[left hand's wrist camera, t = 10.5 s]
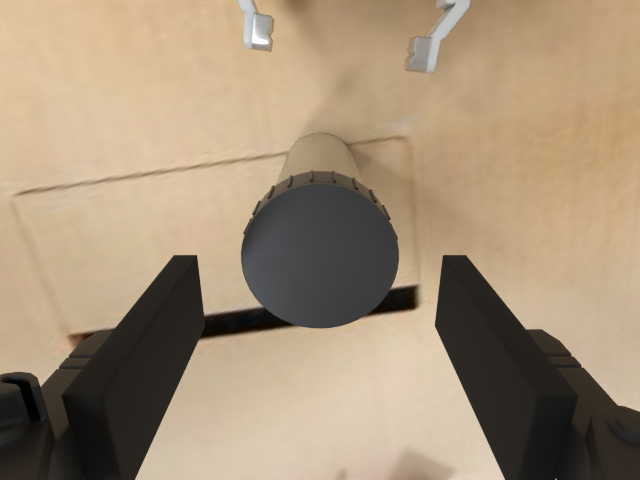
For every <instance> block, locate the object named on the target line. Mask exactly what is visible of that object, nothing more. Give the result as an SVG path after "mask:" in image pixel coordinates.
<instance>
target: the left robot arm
mask: <svg viewBox="0 0 640 480" xmlns="http://www.w3.org/2000/svg"><path fill="white" fill-rule="evenodd" d="M204 327H205V321H204V312H203V303H202V295H201V286H200V277H199V269H198V260H197V255H174V256H173V257H172V259H171V260H170V261H169V262H168V264H167V265H166V266H165V267H164V268H163V270H162V271H161V272H160V273H159V275H158V276H157V277H156V278H155V280H154V281H153V282H152V283H151V285H150V286H149V287H148V288H147V290H146V291H145V292H144V293H143V295H142V296H141V297H140V298H139V299H138V301H137V302H136V303H135V304H134V306H133V307H132V308H131V309H130V311H129V312H128V313H127V314H126V316H125V317H124V318H123V319H122V321H121V322H120V323H119V324H118V326H117V327H116V328H115V329H114V330H113V331H98V332H96V333H95V334H93V335H91V336H90V337H88V338H87V339H85V340H84V341H82V342H81V343H80V344H79V345H78V346H77V347H76V348H75V349H74V350H73V352H72V353H71V354H70V355H69V358H66V359H65V361H64V362H63V363H62V364H61V365H60V366H59V369H56V371H55V372H54V373H53V374H52V375H51V376H50V377H49V378H48V380H47V381H46V382H45V383H44V384H43V385H42V386H41V387H40V385H39V381H38V378H37V377H35V376H34V375H32V374H31V373H25V372H14V373H6V374H2V375H0V480H84V479H85V480H135V478H136V476H137V474H138V472H139V469H140V467H141V465H142V463H143V461H144V458H145V456H146V454H147V452H148V450H149V448H150V445H151V443H152V441H153V439H154V437H155V434H156V432H157V430H158V428H159V426H160V423H161V421H162V419H163V417H164V415H165V413H166V410H167V408H168V406H169V404H170V402H171V399H172V397H173V395H174V393H175V391H176V388H177V386H178V384H179V382H180V380H181V377H182V375H183V373H184V371H185V369H186V367H187V364H188V362H189V360H190V358H191V356H192V353H193V351H194V349H195V347H196V345H197V342H198V340H199V338H200V336H201V334H202V332H203V329H204ZM435 327H436V329H437V332H438V334H439V336H440V338H441V340H442V342H443V345H444V347H445V349H446V351H447V353H448V356H449V358H450V360H451V362H452V364H453V367H454V369H455V371H456V373H457V375H458V377H459V380H460V382H461V384H462V386H463V388H464V391H465V393H466V395H467V397H468V399H469V402H470V404H471V406H472V408H473V410H474V413H475V415H476V417H477V419H478V421H479V423H480V426H481V428H482V430H483V432H484V434H485V437H486V439H487V441H488V443H489V445H490V448H491V450H492V452H493V454H494V456H495V458H496V461H497V463H498V465H499V467H500V469H501V472H502V474H503V476H504V478H505V480H555V479H557V480H640V412H639V411H636V410H633V409H630V408H627V407H624V406H618V405H617V404H616V403H615V402H614V401H613V400H612V399H611V398H610V397H609V395H608V394H607V393H606V392H605V391H604V390H603V389H602V388H601V387H600V385H599V384H598V383H597V382H596V381H595V380H594V379H593V378H592V376H591V375H590V374H589V373H588V372H587V371H586V370H585V369H584V368H582V367H581V364H580V363H579V362H578V361H577V360H576V359H575V358H574V357H572V356H571V353H570V352H569V351H568V350H567V349H566V348H565V346H564V345H563V344H562V343H561V342H560V341H559V340H557V339H556V338H554V337H553V336H551V335H549V334H548V333H546V332H545V331H543V330H526V329H525V328H524V327H523V326H522V324H521V323H520V322H519V321H518V319H517V318H516V317H515V316H514V314H513V313H512V312H511V311H510V309H509V308H508V307H507V306H506V304H505V303H504V302H503V301H502V299H501V298H500V297H499V296H498V295H497V293H496V292H495V291H494V290H493V288H492V287H491V286H490V285H489V283H488V282H487V281H486V280H485V278H484V277H483V276H482V275H481V273H480V272H479V271H478V270H477V268H476V267H475V266H474V265H473V264H472V262H471V261H470V260H469V259H468V257H467V256H466V255H443V260H442V269H441V277H440V286H439V295H438V303H437V312H436V321H435Z"/></svg>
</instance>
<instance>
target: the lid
mask: <svg viewBox="0 0 640 480" xmlns="http://www.w3.org/2000/svg"><path fill="white" fill-rule="evenodd" d="M252 215H253V217H252V218H250V221H249V223H248V225H247V227H246V229H245V231H244V234H245V236H244V239H243V243H242V250H241V263H242V269H243V273H244V277H245V280H246V282H247V284H248V286H249V288H250V290H251V292H252V293H253V295H254V296H255V298H256V299H257V300H258V301H259V302H260V304H261V305H263V306H264V307H265V308H266V309H267V310H268V311H269V312H271V313H272V314H274V315H275V316H277V317H279V318H280V319H282V320H284V321H287V322H289V323H292V324H295V325H298V326H302V327H308V328H332V327H338V326H342V325H345V324H349V323H351V322H353V321H356V320H358V319H360V318H361V317H363V316H365V315H367V314H368V313H369V312H371V311H372V310H373V309H374V308H375V307H376V306H377V305H378V304H379V303H380V302H381V301H382V300H383V299H384V298H385V296H386V295H387V293H388V292H389V290H390V288H391V287H392V284H393V282H394V280H395V277H396V273H397V270H398V262H399V249H398V243H397V240H398V238H397V235H396V233H395V231H394V229H393V227H392V225H391V223H390V222H389V220H390V217H389V215H388V213H387V211H386V209H385V206H384V205H381V204H380V202H379V200H378V199H377V198H376V197H375V195H374V193H373V191H372V190H371V189H370V190H369V189H368V188H366V187H365V186H364V185H363V184H361V183H360V182H358V181H356V179H355V178H354V177H353V178H350V177H348V176H345V175H342V174H339V173H335V171H332V172H329V171H313V170H311V172H306V173H301V174H298V175H295V176H292V175H290V177H289V178H288V179H286V180H284V181H282V182H280V183H279V184H278V185H276V186H274V185H273V186H272V187H271V190H270V191H269V192H268V193H267V194H266V195H265V197H264V198H263V199H262V200H261V201H260V200H259V201H258V203H257V205H256V207H255V210H254V212H253V214H252Z"/></svg>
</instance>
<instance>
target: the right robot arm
mask: <svg viewBox="0 0 640 480" xmlns="http://www.w3.org/2000/svg"><path fill="white" fill-rule="evenodd" d="M470 2H471V0H436V5H435V7H436V9H440V10H443V9H445V11H444V12H443V14H442V15H441V16H440V18H439V19H438V20H437V22H436V23H435V24H434V26H433V27H432V28H431V30H430V31H429V32H428V34H427V35H426V36H425V37H418V36H415V37H413V38H410V39H409V45H408V50H407V51H408V53H409V56H408V57H407V58H406V61H405V70H406V71H412V72H419V73H427V74H433V72H434V70H435V67H436V63H437V59H438V54H439V49H440V44H441V40H444V39H445V37H446V36H447V35H448V34H449V32H450V31H451V30H452V29H453V27H454V26H455V25H456V24H457V22H458V21H459V20H460V19H461V17H462V16H463V15H464V13H465V12H466V11H467V10H468V8H469V7H470ZM238 3H239V5H240V7H241V9H242V11H243V12H244V32H243V46H244V48H246V49H251V50H259V51H268V52H271V51H272V44H273V40H272V38H271V35H272V33H273V31H274V19H273V18H272V16H269V15H262V14H259V12H258V9H257V7H256V4H255V2H254V0H238Z"/></svg>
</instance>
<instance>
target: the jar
mask: <svg viewBox="0 0 640 480" xmlns="http://www.w3.org/2000/svg"><path fill="white" fill-rule="evenodd" d="M311 170H313V171H329V172H332V171H335V173H339V174H342V175H345V176H348V177H350V178H353V177H354V178H355V179H356V181H358V182H360V183H361V184H363V185H364V183H363V180H362V178H361V175H360V173H359V170H358V168H357V165H356V163H355V160H354V158H353V155H352V153H351V151H350V150H349V148H348V147H347V145H346V144H345V143H344V142H343V141H341V140H340V139H339V138H337V137H335V136H333V135H330V134H325V133H315V134H310V135H308V136H305V137H303V138H301V139H300V140H299V141H297V142H296V143H295V144H294V145H293V147H292V148H291V150H290V151H289V153H288V156H287V158H286V160H285V163H284V165H283V168H282V170H281V173H280V175H279V178H278V180H277V183H276V185H278V184H279V183H280V182H282V181H284V180H286V179H288V178H289V177H290V175H292V176H295V175H298V174H301V173H306V172H311ZM276 185H275V186H276ZM364 186H365V185H364Z"/></svg>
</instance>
